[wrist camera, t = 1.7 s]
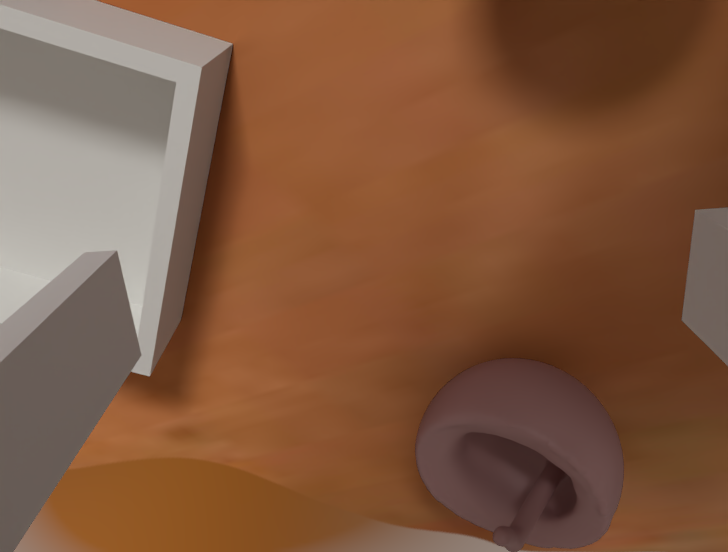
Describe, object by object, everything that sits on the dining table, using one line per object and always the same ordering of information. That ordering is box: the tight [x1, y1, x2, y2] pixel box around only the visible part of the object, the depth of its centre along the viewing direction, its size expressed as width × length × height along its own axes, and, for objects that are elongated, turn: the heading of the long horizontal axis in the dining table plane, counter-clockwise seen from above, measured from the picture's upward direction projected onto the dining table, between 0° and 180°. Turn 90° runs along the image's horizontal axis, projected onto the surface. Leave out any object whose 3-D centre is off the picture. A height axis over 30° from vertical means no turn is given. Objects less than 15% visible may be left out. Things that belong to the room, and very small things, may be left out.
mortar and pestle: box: [415, 358, 624, 552], centre depth 39 cm, size 12×12×12 cm
